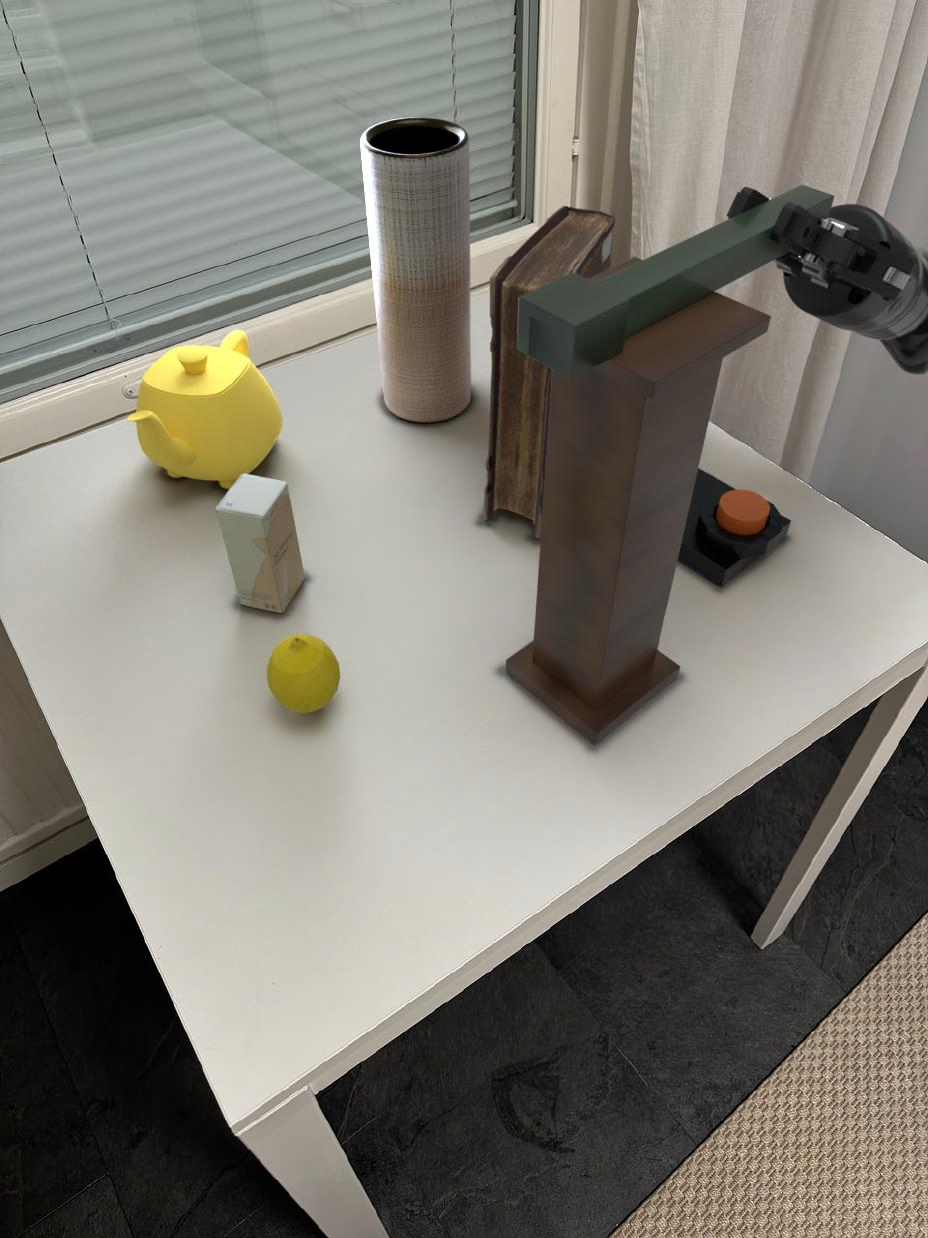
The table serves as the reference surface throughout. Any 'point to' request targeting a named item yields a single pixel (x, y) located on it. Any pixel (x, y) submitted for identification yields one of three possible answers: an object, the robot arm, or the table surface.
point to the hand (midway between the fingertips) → (761, 213)
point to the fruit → (303, 673)
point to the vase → (420, 263)
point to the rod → (649, 287)
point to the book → (519, 378)
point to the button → (742, 512)
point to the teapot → (207, 412)
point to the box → (261, 542)
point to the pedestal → (622, 511)
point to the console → (723, 535)
